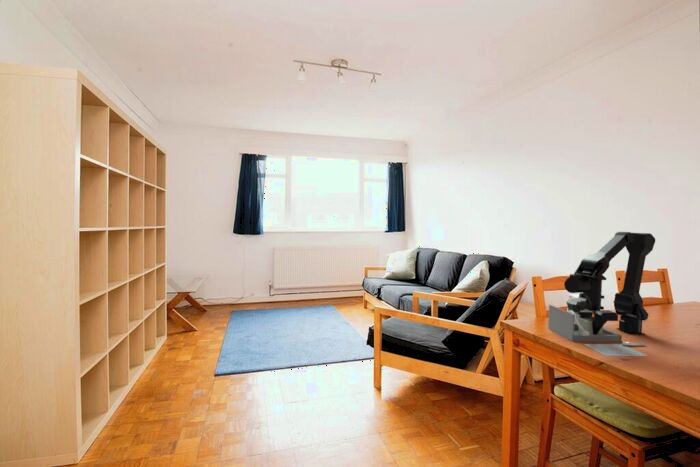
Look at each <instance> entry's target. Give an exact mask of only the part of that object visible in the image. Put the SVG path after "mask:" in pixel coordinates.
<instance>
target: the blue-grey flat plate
mask: <svg viewBox="0 0 700 467" xmlns="http://www.w3.org/2000/svg"><path fill="white" fill-rule="evenodd" d="M583 345H584V346H586V347H587V348H589V349H592V350H594V351H596V352H597V353H599V354H602V355H604V356H606V357H648V355H647V354H646V353H643V352H640V351H638V350H636V349H634V348H632V347H630V346H623V345H621V343H620V344H615V343H613V344H612V343H611V344H606V343H603V344H601V343H599V344H598V343H597V344H595V343H594V344H593V343H592V344H591V343H585V344H583Z"/></svg>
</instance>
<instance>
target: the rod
mask: <svg viewBox="0 0 700 467" xmlns="http://www.w3.org/2000/svg"><path fill="white" fill-rule="evenodd" d="M620 344H621V345H623V346H627V347H647V344H646V343H644V342H631V341H621V342H620Z"/></svg>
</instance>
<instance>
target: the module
mask: <svg viewBox="0 0 700 467" xmlns="http://www.w3.org/2000/svg"><path fill="white" fill-rule="evenodd" d="M579 323H580V325H581V326H582V327H583V329H584V330H585V331H588V332H589V335H593V326H592V320H591V319H590V318H579ZM603 328H604V326H603V327H602V328H601V329H600V331H599V332H598V334H597V335H602V333H603ZM581 331H582V330H581V329H580V328H579V327H578V334H581Z"/></svg>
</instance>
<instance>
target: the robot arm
mask: <svg viewBox="0 0 700 467" xmlns="http://www.w3.org/2000/svg"><path fill="white" fill-rule="evenodd" d="M655 244H656V238H655V237H654V236H653V234H652V233H646V232H631V231H617V232H615V234H614V236H613V237H612V238H611V239H610V240H609V241H608V242H606V243H605V245H604V246H603V247H601V249H599V250H598V251H597V252H595V253H592V254H588V255H587V256H586V257H584V258H583V259H582V260H580V261H581V262H580V263H579V265H578V267H577V268H576V270H575V271H574V273H571V274H569V277H567V278H566V279H565V280H564V283H563V284H564V288H565V290H566V291H567V292H568V293H569V294H579V297H578V298H574V299H571V300H569V301H568V300H567V301H566V302H565V303H566V305H567V308H568V309H569V310H572V311H574V312H576V313H577V314H578V315H579V317H580V318H590V319H591V320H592V326H593V335H597V334H598V332H599V331H600V329H601V328H602V327H603V328H604V325H605V324H607V322H619V323H618V328H617V327H616V329H615V330H618V331H620V332H623V333H625V334H628V335H638V336H646V333H644V332H643V321H644V322H645V321H647V320H648V319H649V315H650V314H649V313H648V312H647V310H646V309H645V308H644V300H643V298H642V296H641V294H640V289H641V285H642V279H643V273H644V267H645V263H646V258H647V256H648V255H649V254H650V253H651V252H652V251H653V249H654V246H655ZM624 248H626V251H627V252H628V260H627V266H626V270H625V274H624V275H625V276H624V280H623V287H622V290H621V291H620V292H619V293H618V292H616V293H615V295H614V300H613V301H612V302H613V308H614V311H612V310H608V309H606V310H605V307H604V306H602V300H603V299H605V295H603V294H602V292H603V290H602V289H603V288H602V287H603V281H607V277H605V275H603V274H605V273H606V272H607V271H608V269H609V268H610V262H611V261H612V260H613V259H614V258H615V257H616V256H617V255H618V254H619V253H620V252H621V251H622V250H623V249H624ZM619 317H620V318H619Z"/></svg>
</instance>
